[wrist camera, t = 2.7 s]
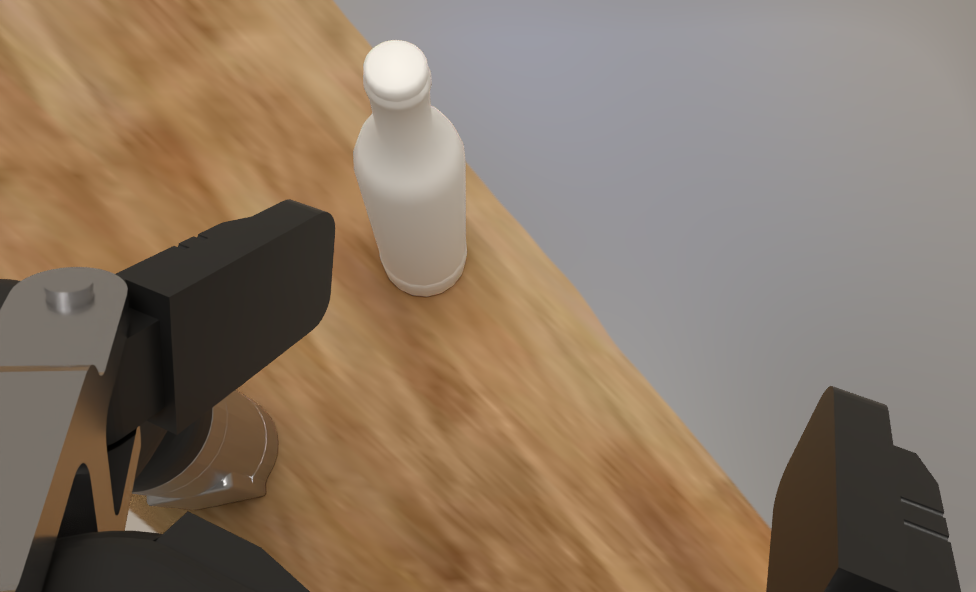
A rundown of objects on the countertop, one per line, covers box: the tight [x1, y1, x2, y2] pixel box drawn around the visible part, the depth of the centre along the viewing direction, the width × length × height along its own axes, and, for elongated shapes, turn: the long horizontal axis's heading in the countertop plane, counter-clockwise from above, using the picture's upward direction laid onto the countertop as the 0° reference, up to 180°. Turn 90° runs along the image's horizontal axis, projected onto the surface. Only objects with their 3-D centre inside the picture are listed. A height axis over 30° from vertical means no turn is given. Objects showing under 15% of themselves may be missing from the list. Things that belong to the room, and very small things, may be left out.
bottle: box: [353, 40, 467, 297], centre depth 55 cm, size 8×8×30 cm
